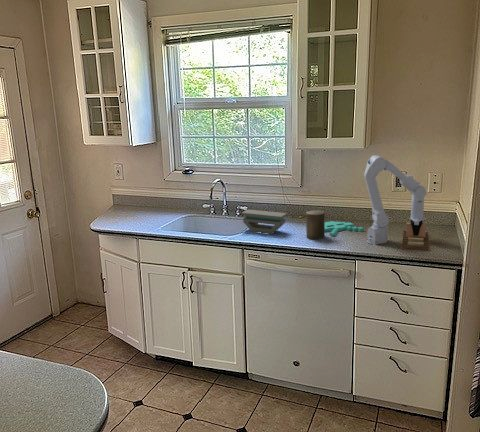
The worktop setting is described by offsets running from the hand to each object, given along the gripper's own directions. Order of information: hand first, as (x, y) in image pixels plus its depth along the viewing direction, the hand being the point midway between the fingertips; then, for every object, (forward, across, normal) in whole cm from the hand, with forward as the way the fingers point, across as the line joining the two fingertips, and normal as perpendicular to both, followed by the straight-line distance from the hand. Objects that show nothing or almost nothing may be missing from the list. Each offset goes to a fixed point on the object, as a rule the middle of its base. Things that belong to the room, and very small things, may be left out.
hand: (415, 234), depth 225 cm
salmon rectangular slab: (+3, 0, 0) cm, 3 cm away
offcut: (+3, -6, 0) cm, 7 cm away
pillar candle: (+4, -4, +50) cm, 50 cm away
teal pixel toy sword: (+4, +12, +41) cm, 43 cm away
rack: (+3, -3, 0) cm, 5 cm away
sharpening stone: (+4, 0, +80) cm, 80 cm away
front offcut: (+3, -13, 0) cm, 13 cm away
